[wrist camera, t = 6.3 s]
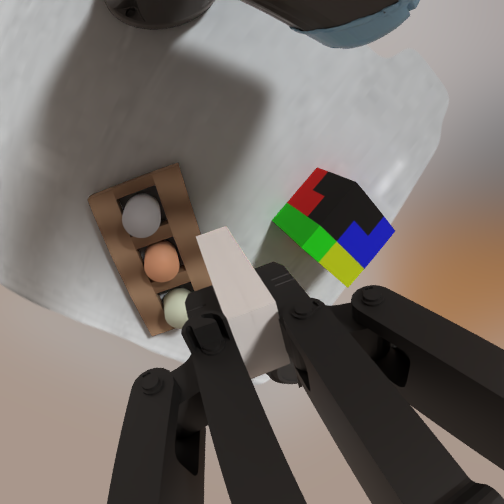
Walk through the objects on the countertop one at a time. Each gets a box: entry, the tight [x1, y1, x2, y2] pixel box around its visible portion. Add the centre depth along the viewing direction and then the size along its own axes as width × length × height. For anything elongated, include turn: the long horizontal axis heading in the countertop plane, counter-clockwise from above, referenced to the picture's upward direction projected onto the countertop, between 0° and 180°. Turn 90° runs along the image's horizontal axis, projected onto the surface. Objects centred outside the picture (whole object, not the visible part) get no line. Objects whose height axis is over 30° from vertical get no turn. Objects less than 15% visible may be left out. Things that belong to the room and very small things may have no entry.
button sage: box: [164, 288, 191, 329], centre depth 42 cm, size 4×4×3 cm
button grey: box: [122, 193, 161, 238], centre depth 36 cm, size 4×4×3 cm
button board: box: [87, 163, 212, 336], centre depth 41 cm, size 22×12×2 cm, turn 14°
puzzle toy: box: [272, 168, 395, 287], centre depth 42 cm, size 10×10×10 cm
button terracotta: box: [144, 240, 179, 282], centre depth 40 cm, size 4×4×3 cm
